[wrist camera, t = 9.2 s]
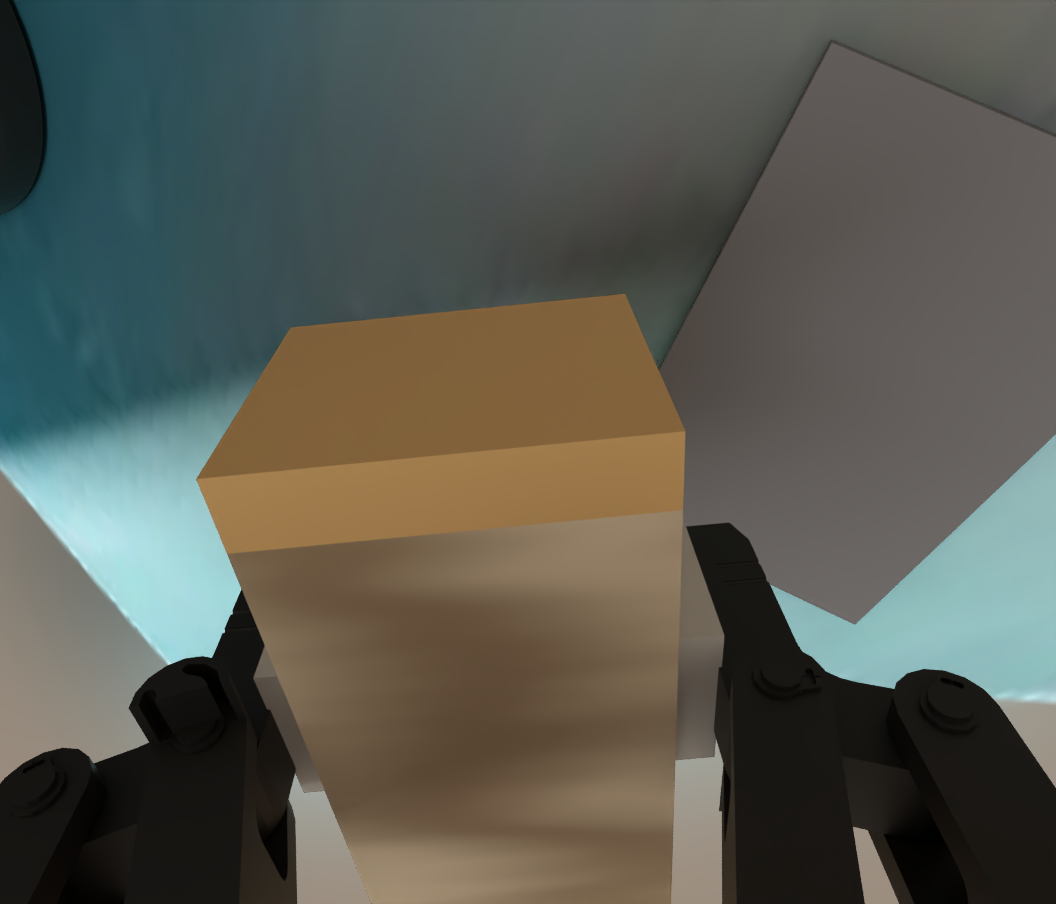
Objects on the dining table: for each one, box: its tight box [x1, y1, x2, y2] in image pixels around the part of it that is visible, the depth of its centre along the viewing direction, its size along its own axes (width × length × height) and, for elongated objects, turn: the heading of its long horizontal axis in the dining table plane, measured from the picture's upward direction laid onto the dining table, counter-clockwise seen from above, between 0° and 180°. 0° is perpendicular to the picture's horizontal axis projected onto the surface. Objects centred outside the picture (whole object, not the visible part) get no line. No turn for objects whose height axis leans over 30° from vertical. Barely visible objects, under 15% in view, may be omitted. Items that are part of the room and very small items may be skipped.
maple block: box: [196, 294, 685, 904], centre depth 12 cm, size 5×4×12 cm
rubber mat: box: [659, 40, 1056, 624], centre depth 25 cm, size 12×18×1 cm, turn 162°
